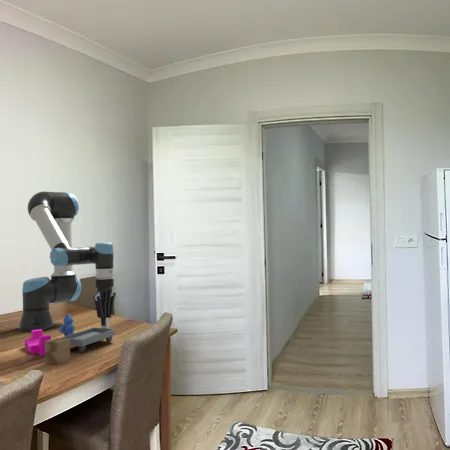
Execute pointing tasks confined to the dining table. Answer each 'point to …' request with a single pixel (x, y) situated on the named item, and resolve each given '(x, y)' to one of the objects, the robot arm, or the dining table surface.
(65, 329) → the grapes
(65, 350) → the walnut block
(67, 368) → the dining table surface
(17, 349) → the dining table surface
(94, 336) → the cart
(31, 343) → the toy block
